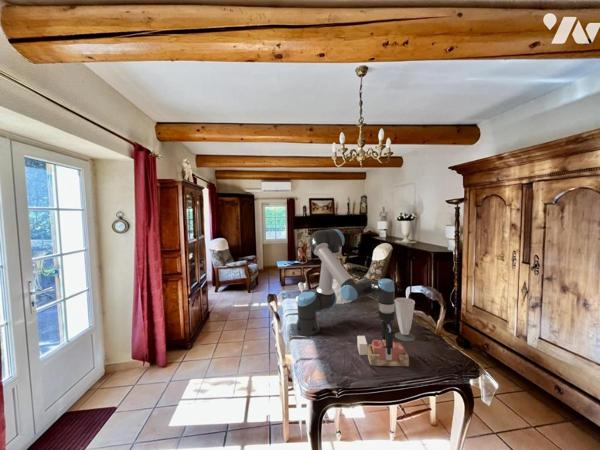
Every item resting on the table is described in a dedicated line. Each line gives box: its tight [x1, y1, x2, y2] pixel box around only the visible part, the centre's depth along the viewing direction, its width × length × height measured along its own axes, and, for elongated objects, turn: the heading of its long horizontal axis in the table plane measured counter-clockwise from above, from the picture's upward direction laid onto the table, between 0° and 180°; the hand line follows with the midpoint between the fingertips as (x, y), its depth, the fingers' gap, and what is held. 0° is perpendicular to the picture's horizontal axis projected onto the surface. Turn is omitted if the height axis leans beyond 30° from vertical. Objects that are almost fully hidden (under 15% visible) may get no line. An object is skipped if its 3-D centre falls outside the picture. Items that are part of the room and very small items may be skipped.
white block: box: [356, 335, 368, 356], centre depth 140 cm, size 9×4×6 cm, turn 174°
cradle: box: [366, 343, 410, 367], centre depth 131 cm, size 18×11×5 cm, turn 85°
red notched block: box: [371, 339, 405, 361], centre depth 131 cm, size 14×6×8 cm, turn 85°
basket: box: [332, 275, 354, 305], centre depth 224 cm, size 25×24×19 cm
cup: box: [394, 297, 416, 342], centre depth 154 cm, size 12×12×22 cm
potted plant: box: [295, 282, 307, 306], centre depth 200 cm, size 13×12×25 cm
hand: (387, 356), depth 131 cm, fingers closed on red notched block, 6 cm apart
